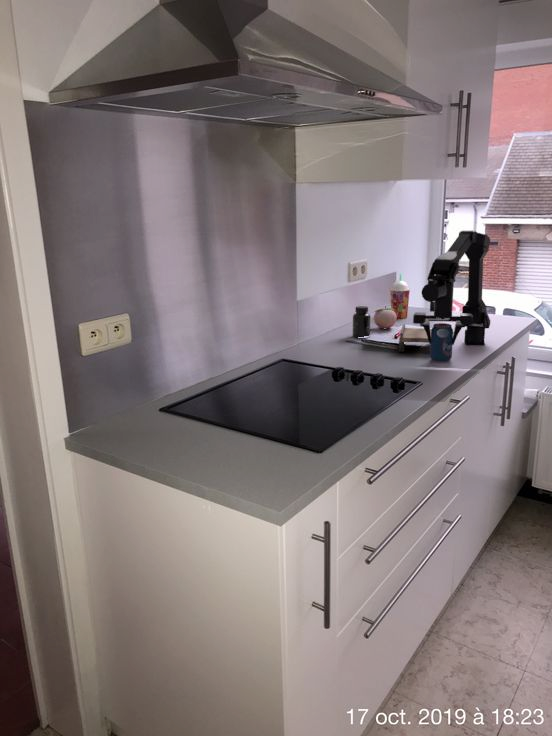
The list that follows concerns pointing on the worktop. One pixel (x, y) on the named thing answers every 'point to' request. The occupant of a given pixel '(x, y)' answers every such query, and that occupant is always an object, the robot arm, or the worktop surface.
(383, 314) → the decorative fruit
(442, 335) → the soda can
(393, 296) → the smoothie
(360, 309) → the supplement bottle
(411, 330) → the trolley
